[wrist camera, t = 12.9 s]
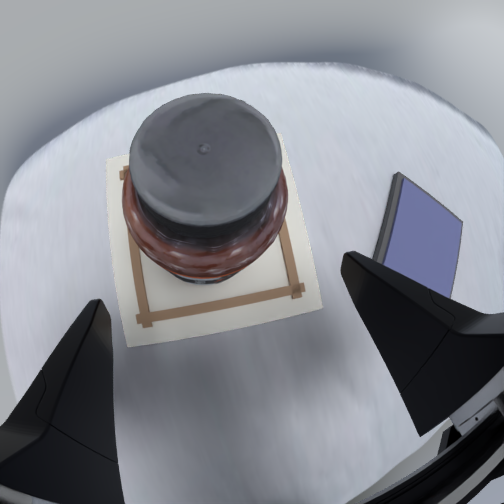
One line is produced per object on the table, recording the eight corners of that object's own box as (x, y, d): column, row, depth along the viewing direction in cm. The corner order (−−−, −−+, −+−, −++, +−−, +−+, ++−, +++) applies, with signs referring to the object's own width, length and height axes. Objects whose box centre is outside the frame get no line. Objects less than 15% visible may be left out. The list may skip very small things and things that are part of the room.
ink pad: (441, 311, 20) (449, 311, 19) (368, 271, 19) (376, 270, 18) (458, 223, 22) (464, 221, 21) (394, 174, 21) (400, 170, 20)
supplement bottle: (224, 303, 17) (254, 321, 6) (141, 257, 17) (49, 201, 6) (267, 220, 18) (346, 126, 7) (188, 178, 18) (174, 48, 7)
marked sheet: (322, 308, 18) (325, 308, 18) (128, 346, 16) (126, 348, 15) (280, 134, 20) (281, 131, 19) (106, 160, 17) (104, 157, 17)
